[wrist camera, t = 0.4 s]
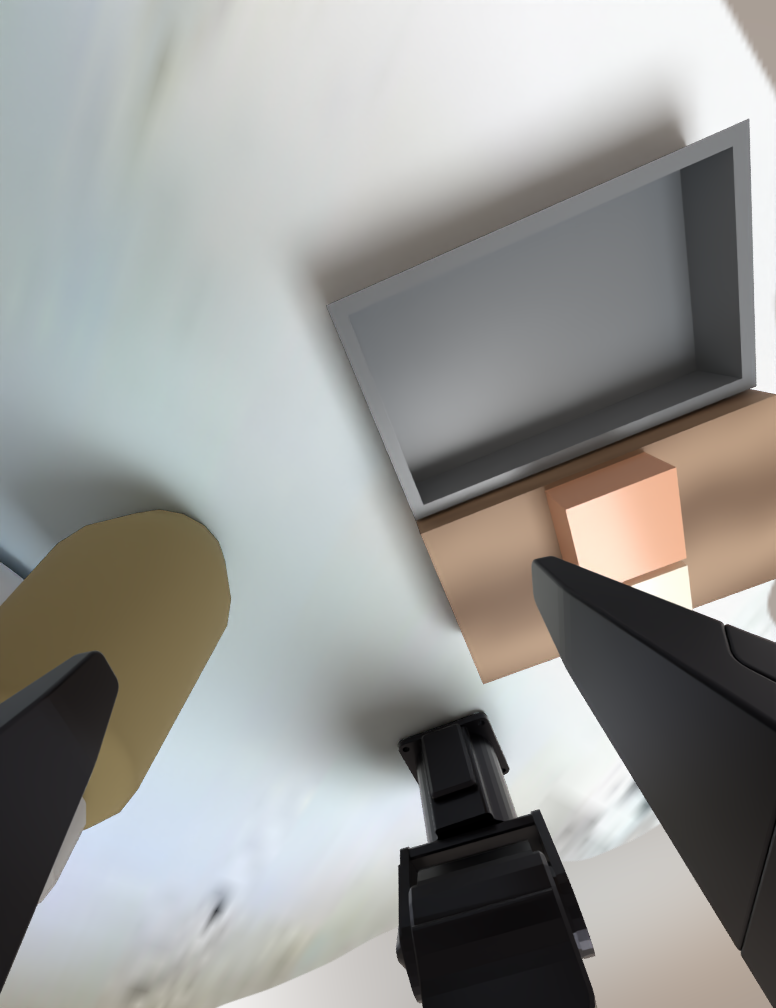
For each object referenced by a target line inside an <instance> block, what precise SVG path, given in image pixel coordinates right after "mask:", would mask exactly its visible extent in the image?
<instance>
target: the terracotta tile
mask: <svg viewBox="0 0 776 1008" xmlns="http://www.w3.org/2000/svg"><path fill="white" fill-rule="evenodd" d="M545 494H546V497H547V501H548V505H549V509H550V513H551V517H552V520H553V524H554V528H555V532H556V536H557V539H558V543H559V547H560V551H561V555H562V559H563V560H565V561H567V562H570V563H572V564H575V565H577V566H580V567H583V568H585V569H588V570H590V571H593V572H595V573H598V574H601V575H603V576H606V577H608V578H611V579H613V580H616V581H618V582H623V581H626V580H629V579H632V578H634V577H637V576H640V575H642V574H645V573H648V572H650V571H653V570H656V569H659V568H661V567H664V566H667V565H669V564H672V563H675V562H678V561H680V560H683V559H686V558H687V557H686V548H685V539H684V530H683V522H682V513H681V504H680V496H679V487H678V478H677V469H676V467H675V466H673V465H671V464H668V463H666V462H664V461H662V460H660V459H658V458H656V457H654V456H652V455H650V454H648V453H645V452H643V453H640V454H638V455H635V456H633V457H630V458H628V459H625V460H623V461H620V462H617V463H615V464H612V465H610V466H607V467H605V468H602V469H600V470H597V471H594V472H592V473H589V474H587V475H584V476H582V477H579V478H577V479H574V480H571V481H569V482H566V483H564V484H561V485H559V486H556V487H554V488H551V489H548V490H546V491H545Z"/></svg>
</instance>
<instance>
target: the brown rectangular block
mask: <svg viewBox="0 0 776 1008" xmlns="http://www.w3.org/2000/svg"><path fill="white" fill-rule="evenodd" d="M643 452H645V453H648V454H650V455H652V456H654V457H656V458H658V459H660V460H662V461H664V462H666V463H668V464H671V465H673V466H675V467H676V469H677V478H678V487H679V496H680V504H681V513H682V522H683V530H684V539H685V548H686V557H687V558H686V559H683V560H681V561H682V562H684V563H685V564H686V565H688V574H689V583H690V591H691V600H692V609H693V608H696V607H699V606H702V605H704V604H707V603H710V602H713V601H715V600H718V599H721V598H724V597H727V596H729V595H732V594H735V593H738V592H740V591H743V590H746V589H749V588H751V587H754V586H757V585H760V584H763V583H765V582H768V581H771V580H774V579H776V394H772V393H767V392H762V391H757V390H752V389H748V390H745V391H743V392H740V393H738V394H735V395H733V396H730V397H728V398H725V399H723V400H720V401H718V402H715V403H712V404H710V405H707V406H705V407H702V408H700V409H697V410H695V411H692V412H690V413H687V414H685V415H682V416H680V417H677V418H675V419H672V420H669V421H667V422H664V423H662V424H659V425H657V426H654V427H652V428H649V429H647V430H644V431H642V432H639V433H637V434H634V435H632V436H629V437H626V438H624V439H621V440H619V441H616V442H614V443H611V444H609V445H606V446H604V447H601V448H599V449H596V450H594V451H591V452H589V453H586V454H583V455H581V456H578V457H576V458H573V459H571V460H568V461H566V462H563V463H561V464H558V465H556V466H553V467H551V468H548V469H545V470H543V471H540V472H538V473H535V474H533V475H530V476H528V477H525V478H523V479H520V480H518V481H515V482H513V483H510V484H508V485H505V486H502V487H500V488H497V489H495V490H492V491H490V492H487V493H485V494H482V495H480V496H477V497H475V498H472V499H470V500H467V501H465V502H462V503H459V504H457V505H454V506H452V507H449V508H447V509H444V510H442V511H439V512H437V513H434V514H432V515H429V516H427V517H424V518H422V519H419V520H416V522H417V525H418V528H419V531H420V534H421V536H422V539H423V541H424V544H425V546H426V548H427V551H428V553H429V555H430V558H431V560H432V563H433V565H434V567H435V570H436V572H437V575H438V577H439V579H440V582H441V584H442V587H443V589H444V591H445V594H446V596H447V599H448V601H449V603H450V606H451V608H452V611H453V613H454V615H455V618H456V620H457V623H458V625H459V627H460V630H461V632H462V635H463V637H464V639H465V642H466V644H467V646H468V649H469V651H470V654H471V656H472V658H473V661H474V663H475V666H476V668H477V670H478V673H479V675H480V678H481V680H482V682H483V684H485V683H488V682H491V681H494V680H496V679H499V678H502V677H505V676H508V675H510V674H513V673H516V672H519V671H521V670H524V669H527V668H530V667H533V666H535V665H538V664H541V663H544V662H546V661H549V660H552V659H555V658H557V657H560V655H559V653H558V651H557V648H556V646H555V644H554V642H553V640H552V638H551V635H550V633H549V631H548V629H547V627H546V625H545V623H544V620H543V618H542V616H541V614H540V612H539V610H538V607H537V605H536V603H535V600H534V595H533V584H532V569H531V565H532V561H533V560H534V559H537V558H542V557H547V556H554V557H557V558H560V559H562V555H561V551H560V547H559V543H558V539H557V536H556V532H555V528H554V524H553V520H552V517H551V513H550V509H549V505H548V501H547V497H546V494H545V491H546V490H548V489H551V488H554V487H556V486H559V485H561V484H564V483H566V482H569V481H571V480H574V479H577V478H579V477H582V476H584V475H587V474H589V473H592V472H594V471H597V470H600V469H602V468H605V467H607V466H610V465H612V464H615V463H617V462H620V461H623V460H625V459H628V458H630V457H633V456H635V455H638V454H640V453H643ZM562 560H563V559H562Z"/></svg>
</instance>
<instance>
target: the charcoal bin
mask: <svg viewBox="0 0 776 1008" xmlns="http://www.w3.org/2000/svg"><path fill="white" fill-rule="evenodd" d="M326 306H327V309H328V311H329V314H330V316H331V318H332V321H333V323H334V326H335V328H336V330H337V333H338V335H339V338H340V340H341V342H342V345H343V347H344V350H345V352H346V354H347V357H348V359H349V362H350V364H351V366H352V369H353V371H354V374H355V376H356V378H357V381H358V383H359V386H360V388H361V390H362V393H363V395H364V398H365V400H366V402H367V405H368V407H369V410H370V412H371V414H372V417H373V419H374V422H375V424H376V426H377V429H378V431H379V434H380V436H381V438H382V441H383V443H384V446H385V448H386V450H387V453H388V455H389V458H390V460H391V462H392V465H393V467H394V470H395V472H396V474H397V477H398V479H399V482H400V484H401V486H402V489H403V491H404V494H405V496H406V498H407V501H408V503H409V506H410V508H411V510H412V513H413V515H414V518H415V520H419V519H422V518H424V517H427V516H429V515H432V514H434V513H437V512H439V511H442V510H444V509H447V508H449V507H452V506H454V505H457V504H459V503H462V502H465V501H467V500H470V499H472V498H475V497H477V496H480V495H482V494H485V493H487V492H490V491H492V490H495V489H497V488H500V487H502V486H505V485H508V484H510V483H513V482H515V481H518V480H520V479H523V478H525V477H528V476H530V475H533V474H535V473H538V472H540V471H543V470H545V469H548V468H551V467H553V466H556V465H558V464H561V463H563V462H566V461H568V460H571V459H573V458H576V457H578V456H581V455H583V454H586V453H589V452H591V451H594V450H596V449H599V448H601V447H604V446H606V445H609V444H611V443H614V442H616V441H619V440H621V439H624V438H626V437H629V436H632V435H634V434H637V433H639V432H642V431H644V430H647V429H649V428H652V427H654V426H657V425H659V424H662V423H664V422H667V421H669V420H672V419H675V418H677V417H680V416H682V415H685V414H687V413H690V412H692V411H695V410H697V409H700V408H702V407H705V406H707V405H710V404H712V403H715V402H718V401H720V400H723V399H725V398H728V397H730V396H733V395H735V394H738V393H740V392H743V391H745V390H748V389H750V388H753V387H756V354H755V316H754V279H753V242H752V204H751V167H750V129H749V119H747V120H745V121H742V122H740V123H738V124H736V125H733V126H731V127H729V128H727V129H724V130H722V131H720V132H718V133H715V134H713V135H711V136H709V137H706V138H704V139H702V140H699V141H697V142H695V143H693V144H690V145H688V146H686V147H684V148H681V149H679V150H677V151H675V152H672V153H670V154H668V155H666V156H663V157H661V158H659V159H656V160H654V161H652V162H650V163H647V164H645V165H643V166H641V167H638V168H636V169H634V170H632V171H629V172H627V173H625V174H623V175H620V176H618V177H616V178H613V179H611V180H609V181H607V182H604V183H602V184H600V185H598V186H595V187H593V188H591V189H589V190H586V191H584V192H582V193H580V194H577V195H575V196H573V197H571V198H568V199H566V200H564V201H561V202H559V203H557V204H555V205H552V206H550V207H548V208H546V209H543V210H541V211H539V212H537V213H534V214H532V215H530V216H528V217H525V218H523V219H521V220H518V221H516V222H514V223H512V224H509V225H507V226H505V227H503V228H500V229H498V230H496V231H494V232H491V233H489V234H487V235H485V236H482V237H480V238H478V239H475V240H473V241H471V242H469V243H466V244H464V245H462V246H460V247H457V248H455V249H453V250H451V251H448V252H446V253H444V254H442V255H439V256H437V257H435V258H432V259H430V260H428V261H426V262H423V263H421V264H419V265H417V266H414V267H412V268H410V269H408V270H405V271H403V272H401V273H399V274H396V275H394V276H392V277H389V278H387V279H385V280H383V281H380V282H378V283H376V284H374V285H371V286H369V287H367V288H365V289H362V290H360V291H358V292H356V293H353V294H351V295H349V296H346V297H344V298H342V299H340V300H337V301H335V302H333V303H331V304H328V305H326Z"/></svg>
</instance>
